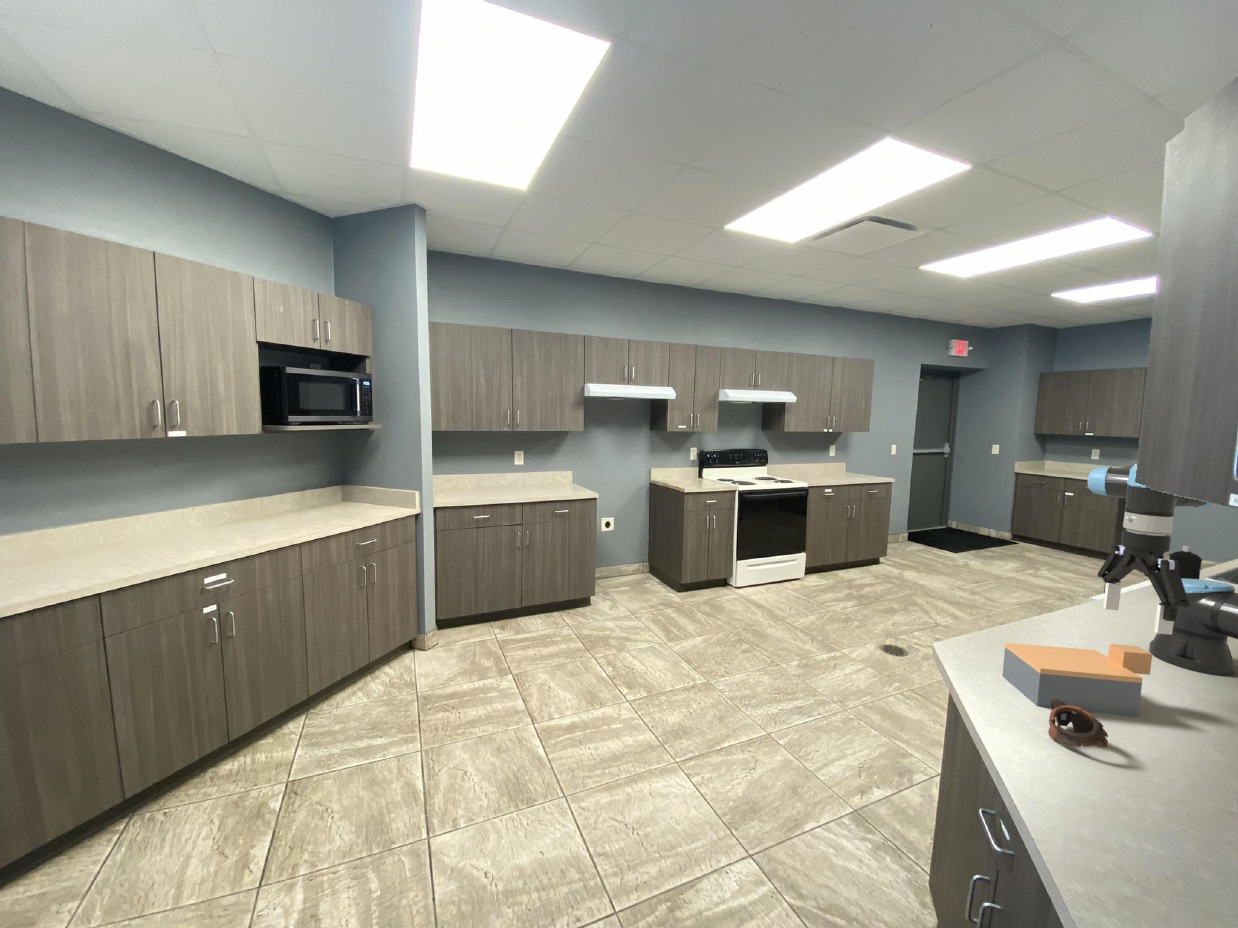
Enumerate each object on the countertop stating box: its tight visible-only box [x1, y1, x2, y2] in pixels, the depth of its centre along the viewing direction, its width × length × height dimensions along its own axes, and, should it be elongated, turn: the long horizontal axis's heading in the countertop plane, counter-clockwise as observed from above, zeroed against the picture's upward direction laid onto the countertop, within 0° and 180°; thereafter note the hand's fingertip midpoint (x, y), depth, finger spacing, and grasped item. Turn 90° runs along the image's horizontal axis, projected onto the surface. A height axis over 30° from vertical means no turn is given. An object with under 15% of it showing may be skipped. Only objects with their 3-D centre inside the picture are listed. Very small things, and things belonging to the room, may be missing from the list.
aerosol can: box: [1168, 545, 1203, 579], centre depth 178 cm, size 8×8×20 cm
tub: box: [1002, 646, 1143, 717], centre depth 113 cm, size 20×13×8 cm, turn 79°
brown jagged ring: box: [1048, 699, 1109, 749], centre depth 98 cm, size 12×10×8 cm
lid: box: [1004, 642, 1153, 684], centre depth 112 cm, size 25×13×6 cm, turn 79°
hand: (1135, 620), depth 109 cm, fingers open, 13 cm apart
